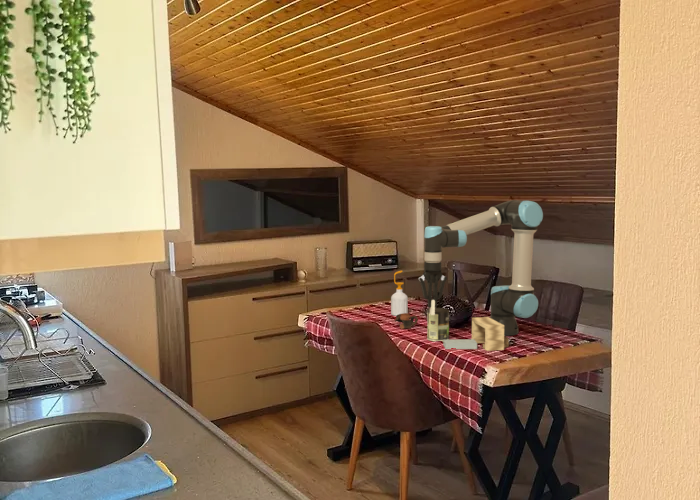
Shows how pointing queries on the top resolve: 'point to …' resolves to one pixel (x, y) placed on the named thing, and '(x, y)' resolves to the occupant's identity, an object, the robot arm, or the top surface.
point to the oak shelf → (489, 333)
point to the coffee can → (438, 325)
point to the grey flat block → (460, 344)
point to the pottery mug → (406, 320)
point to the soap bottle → (399, 299)
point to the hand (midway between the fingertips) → (432, 314)
